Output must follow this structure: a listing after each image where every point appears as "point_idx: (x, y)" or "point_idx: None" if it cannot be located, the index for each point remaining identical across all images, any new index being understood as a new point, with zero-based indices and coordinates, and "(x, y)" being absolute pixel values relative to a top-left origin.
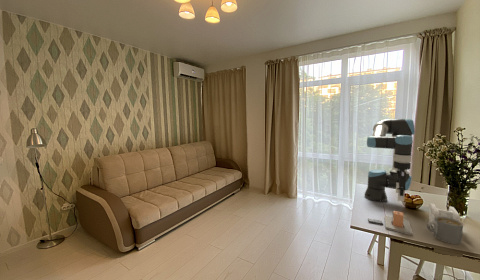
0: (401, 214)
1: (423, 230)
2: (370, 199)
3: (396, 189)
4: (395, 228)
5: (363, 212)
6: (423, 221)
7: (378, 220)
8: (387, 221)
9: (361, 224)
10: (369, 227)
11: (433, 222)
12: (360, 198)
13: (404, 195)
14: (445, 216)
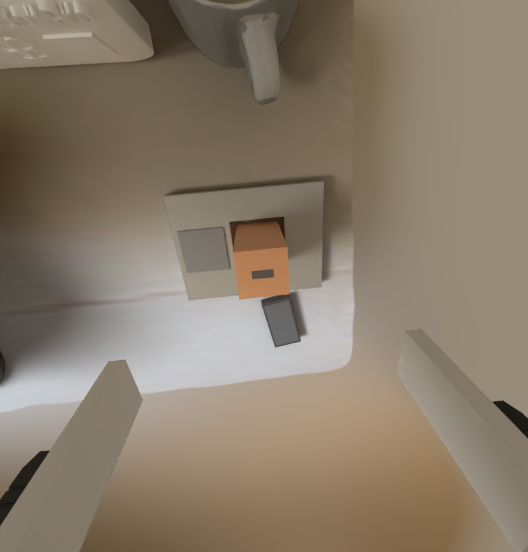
0: (275, 258)
1: (216, 123)
2: (2, 368)
3: (123, 441)
4: (313, 251)
5: (206, 364)
6: (65, 111)
7: (269, 314)
8: None
9: (334, 352)
10: (344, 328)
11: (275, 48)
12: (34, 398)
13: (483, 394)
14: None
